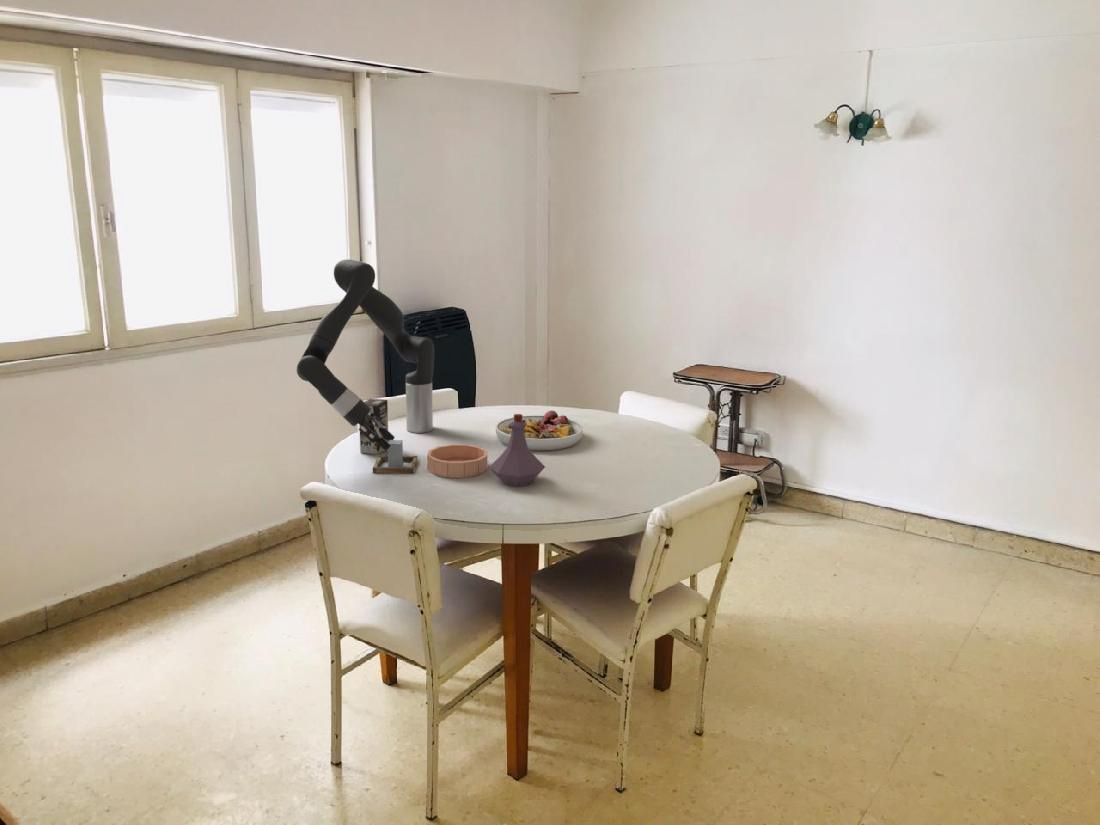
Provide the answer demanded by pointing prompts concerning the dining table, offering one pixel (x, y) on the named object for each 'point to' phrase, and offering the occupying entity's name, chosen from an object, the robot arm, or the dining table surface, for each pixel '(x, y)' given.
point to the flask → (517, 458)
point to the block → (395, 453)
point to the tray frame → (395, 469)
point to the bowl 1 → (457, 461)
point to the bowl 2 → (544, 431)
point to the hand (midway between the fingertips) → (390, 444)
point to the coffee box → (381, 412)
